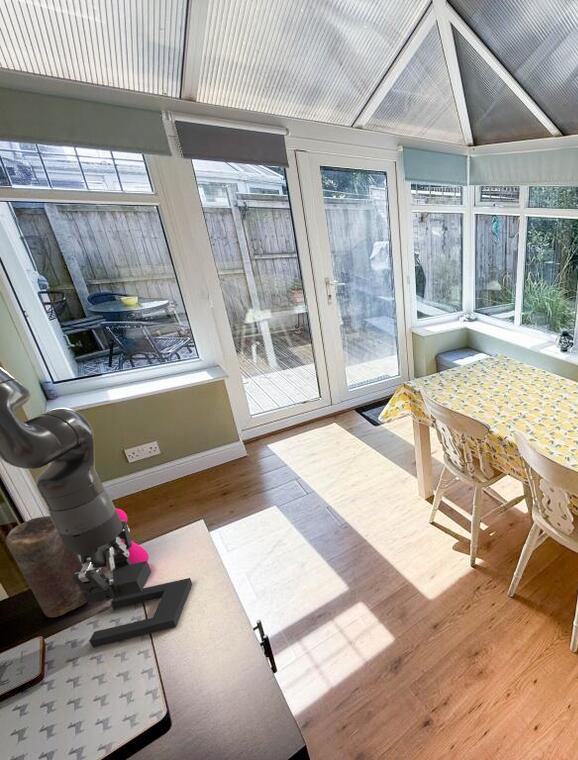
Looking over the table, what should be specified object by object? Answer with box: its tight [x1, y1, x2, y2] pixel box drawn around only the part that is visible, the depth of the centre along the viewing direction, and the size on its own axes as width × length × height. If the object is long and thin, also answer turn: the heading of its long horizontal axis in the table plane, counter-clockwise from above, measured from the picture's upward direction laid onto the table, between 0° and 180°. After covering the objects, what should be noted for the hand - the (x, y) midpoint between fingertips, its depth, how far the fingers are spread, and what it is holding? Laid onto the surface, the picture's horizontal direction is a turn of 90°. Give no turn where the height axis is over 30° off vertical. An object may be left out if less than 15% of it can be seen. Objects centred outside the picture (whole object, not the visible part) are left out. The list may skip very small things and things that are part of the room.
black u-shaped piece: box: [88, 577, 193, 649], centre depth 83 cm, size 13×10×2 cm
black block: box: [83, 561, 152, 605], centre depth 79 cm, size 8×5×3 cm, turn 110°
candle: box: [5, 515, 88, 618], centre depth 81 cm, size 8×7×20 cm
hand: (120, 585), depth 79 cm, fingers closed on black block, 5 cm apart
